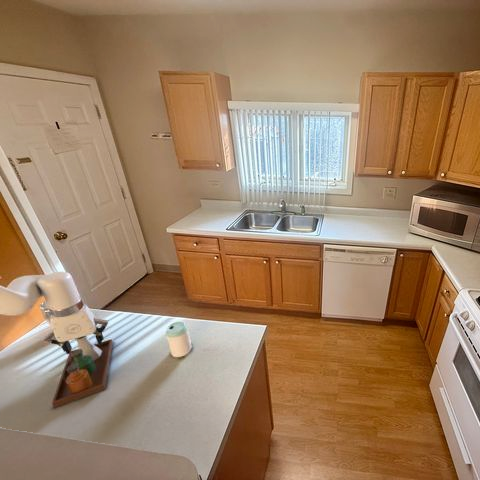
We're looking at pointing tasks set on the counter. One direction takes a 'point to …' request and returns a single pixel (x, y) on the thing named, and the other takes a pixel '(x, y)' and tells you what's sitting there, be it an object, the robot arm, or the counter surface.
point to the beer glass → (45, 315)
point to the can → (178, 339)
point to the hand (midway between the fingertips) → (85, 346)
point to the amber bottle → (78, 379)
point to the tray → (98, 377)
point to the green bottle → (84, 361)
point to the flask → (88, 347)
